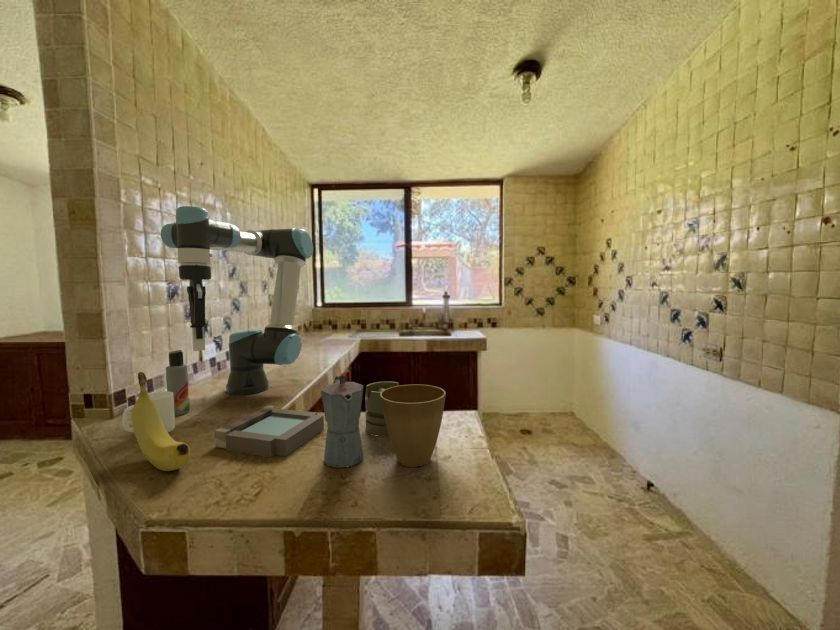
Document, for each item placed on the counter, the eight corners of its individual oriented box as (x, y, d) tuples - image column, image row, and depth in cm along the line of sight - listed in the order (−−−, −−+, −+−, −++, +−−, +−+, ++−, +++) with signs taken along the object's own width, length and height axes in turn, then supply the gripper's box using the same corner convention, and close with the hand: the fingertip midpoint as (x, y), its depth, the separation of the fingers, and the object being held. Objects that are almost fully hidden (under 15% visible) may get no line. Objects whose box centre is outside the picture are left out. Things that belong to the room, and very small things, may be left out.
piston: (398, 380, 111) (411, 389, 100) (398, 419, 112) (411, 432, 101) (361, 383, 107) (370, 394, 96) (361, 424, 108) (371, 439, 97)
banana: (200, 473, 80) (196, 382, 78) (170, 485, 75) (164, 388, 73) (156, 447, 92) (152, 368, 91) (128, 456, 88) (123, 373, 86)
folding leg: (267, 419, 111) (267, 405, 110) (277, 421, 110) (276, 406, 109) (215, 446, 92) (214, 429, 92) (226, 448, 91) (225, 430, 91)
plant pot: (437, 443, 94) (437, 382, 93) (452, 473, 79) (452, 400, 78) (379, 448, 91) (378, 385, 90) (383, 479, 77) (382, 404, 76)
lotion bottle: (193, 411, 118) (189, 350, 117) (173, 417, 113) (170, 353, 112) (184, 408, 121) (181, 348, 120) (165, 413, 116) (161, 351, 115)
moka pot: (330, 479, 77) (328, 385, 75) (314, 450, 91) (312, 370, 89) (373, 468, 81) (372, 379, 80) (352, 442, 95) (351, 365, 93)
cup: (181, 429, 104) (179, 394, 103) (130, 445, 94) (128, 406, 93) (166, 423, 108) (164, 389, 107) (116, 438, 98) (113, 401, 97)
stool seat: (278, 421, 109) (278, 408, 109) (326, 427, 105) (326, 413, 105) (226, 450, 90) (225, 434, 90) (282, 459, 86) (281, 442, 86)
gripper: (215, 264, 98) (219, 351, 100) (206, 266, 108) (210, 345, 110) (181, 263, 94) (186, 355, 96) (175, 265, 104) (180, 348, 106)
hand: (199, 350), depth 103 cm, fingers closed
